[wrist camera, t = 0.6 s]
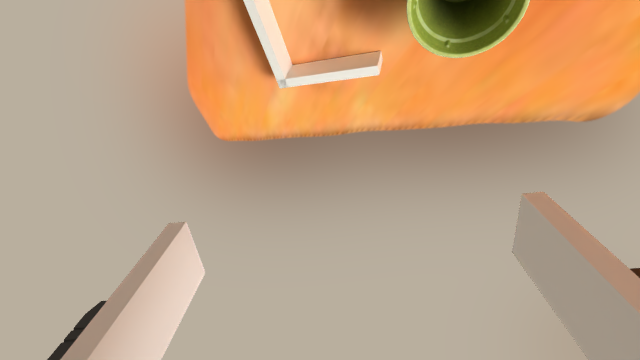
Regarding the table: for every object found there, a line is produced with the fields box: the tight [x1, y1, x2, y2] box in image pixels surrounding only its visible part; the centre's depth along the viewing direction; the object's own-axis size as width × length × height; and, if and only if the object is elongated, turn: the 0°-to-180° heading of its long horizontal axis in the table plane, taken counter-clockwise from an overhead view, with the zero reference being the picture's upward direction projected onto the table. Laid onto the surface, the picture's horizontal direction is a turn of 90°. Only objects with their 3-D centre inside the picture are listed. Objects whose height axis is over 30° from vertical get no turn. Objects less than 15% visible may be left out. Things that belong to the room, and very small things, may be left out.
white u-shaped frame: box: [243, 0, 383, 88], centre depth 37 cm, size 16×13×4 cm
